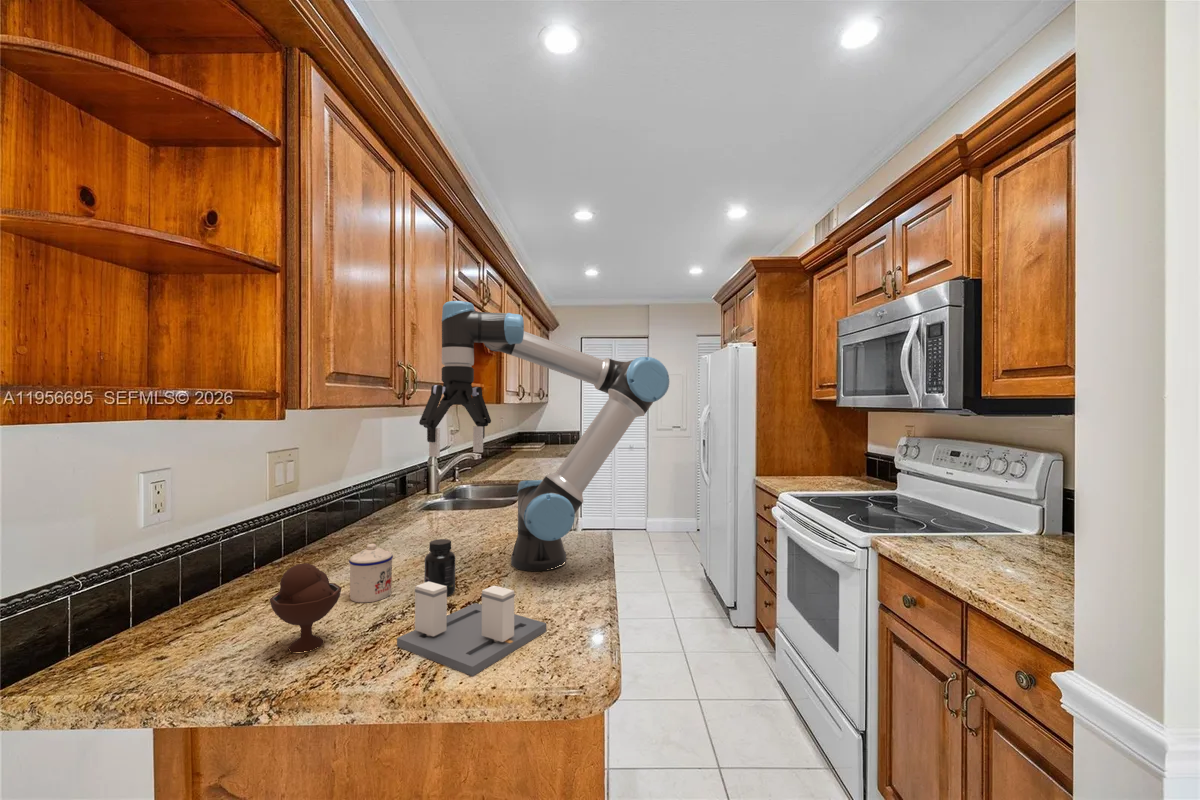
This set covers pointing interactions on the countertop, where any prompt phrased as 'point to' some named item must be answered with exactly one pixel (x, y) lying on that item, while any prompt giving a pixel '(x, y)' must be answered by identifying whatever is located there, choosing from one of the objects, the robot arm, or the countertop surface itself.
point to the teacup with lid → (370, 574)
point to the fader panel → (469, 641)
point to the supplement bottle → (440, 565)
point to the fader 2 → (498, 613)
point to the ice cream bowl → (304, 602)
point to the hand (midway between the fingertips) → (457, 454)
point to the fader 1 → (431, 608)
